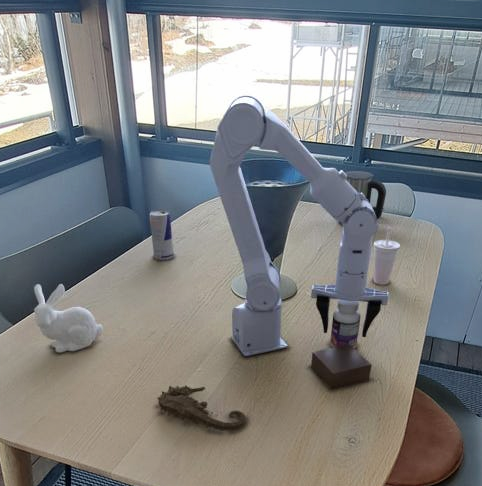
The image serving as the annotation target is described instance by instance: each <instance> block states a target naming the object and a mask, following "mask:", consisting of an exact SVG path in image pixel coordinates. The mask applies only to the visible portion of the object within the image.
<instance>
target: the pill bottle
mask: <svg viewBox="0 0 482 486" xmlns="http://www.w3.org/2000/svg"><path fill="white" fill-rule="evenodd" d="M359 305H360V301H346V300H341V299H338V301H337V308H336V309H335V310H334V312H333V313H332V320H331V331H330V338H329V339H330V340H329V341H330V342H329V344H330V346H331V348H333V347H337V346H342V345H347V344H350V345H351V346H352V347H353V348H354V349H356V348H357V345H358V337H359V330H360V324H361V313H360V311H358V310H359Z"/></svg>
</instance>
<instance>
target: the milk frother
mask: <svg viewBox="0 0 482 486" xmlns="http://www.w3.org/2000/svg"><path fill="white" fill-rule="evenodd" d="M344 173H345V174H346V175H347V178H346V181H347V182H348V183H349V184H350V185H351V186H352V187H353V188H354V189H355V190H356V191H357V192H358V193H361V192H362V193H363V195H364V196H365V198H366V199H368V201H369V203H370V204H371V198H372V190H373V189H374V190H376V191H377V199H376V204H375V206H372V208H373V210H374V212H375V215H376V217H377V220H379V219H380V218H381V217H382V215H383V211H384V206H385V201H386V196H387V189H386V186H385V185H384V183H382V182H381V181H379V180H375V179H373V178H374V174H373V173H371V172H368V171H361V170H360V171H359V170H358V171H357V170H352V171H346V172H344ZM338 223H339V224H340V225H342V226H343V224H342V223H341V222H340V221H338Z"/></svg>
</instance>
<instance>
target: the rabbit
mask: <svg viewBox="0 0 482 486" xmlns="http://www.w3.org/2000/svg"><path fill="white" fill-rule="evenodd" d="M33 291H34V295H35V298H36V300H37V302H38V305H36V306H35V307H34V308H33V312H34V314H35V315H34V316H35V317H34V321H35V322H36V325H37V326H38V327H39V331H40V332H41V333H42V335H43V336H44V337H46V338H47V339H49V340H52V341H53V342H52V343H51V347H52V348H55V352H56V353H60V354H61V353H65V352H66V351H68V352H76V351H78V350H79V351H80V350H81V349H85V348H87V347H89V346H91V345H92V344H93V342H94V341H96V340H97V339H99V338H100V337H102V335H103V333H104V328H103V325H102V324H100V323H99V324H98V323H97V322H96V319H95V316H94V315H93V314H92V313H91V312H90V311H89V309H86V308H84V307H81V306H72V307H69V308H67V309H64V310H54V308H53V306H54V305H55V304H56V303H57V302H58V301H59V300H61V299H62V298H63V297H64V296H65V293H66V289H65V286H64V285H63V283H60V284H58V286H57V287H56V288H55V289H54V290H53V292H52V293H51V294H50V295H49V297H48V299H47V301H45V297H44V293H43V290H42V285H41V284H39V283H37V284H35V285H34V286H33Z"/></svg>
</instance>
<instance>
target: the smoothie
mask: <svg viewBox="0 0 482 486" xmlns="http://www.w3.org/2000/svg"><path fill="white" fill-rule="evenodd" d="M390 233H391V226H388V228H387V231H386V239H379V240H375V241H374V242H373V246H372V248H373V256H374V257H373V282H374V284H377V285H382V286H385V285H388V284H389V281H390V279H391V275H392V272H393V269H394V265H395V262H396V259H397V255H398V252H400V249H401V244H400V243H399V242H397V241H394V240H391V239H390Z"/></svg>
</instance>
